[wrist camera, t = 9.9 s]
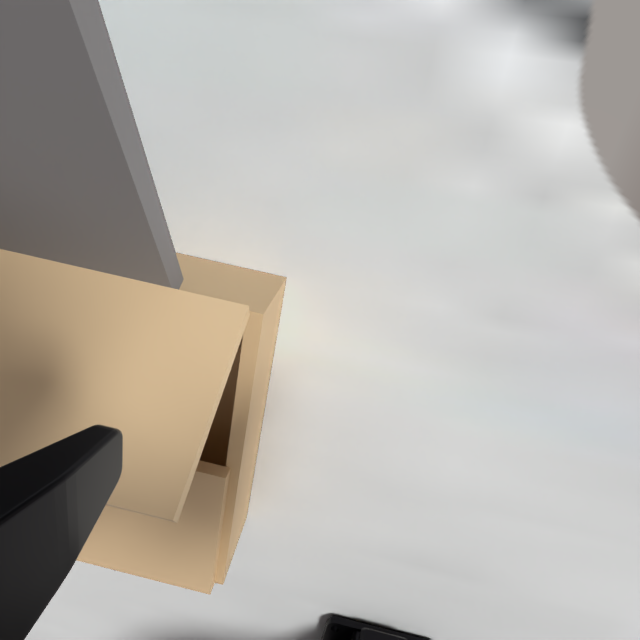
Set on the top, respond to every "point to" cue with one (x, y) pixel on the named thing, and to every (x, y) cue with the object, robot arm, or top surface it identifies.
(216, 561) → the carton
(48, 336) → the carton flap
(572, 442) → the top surface
